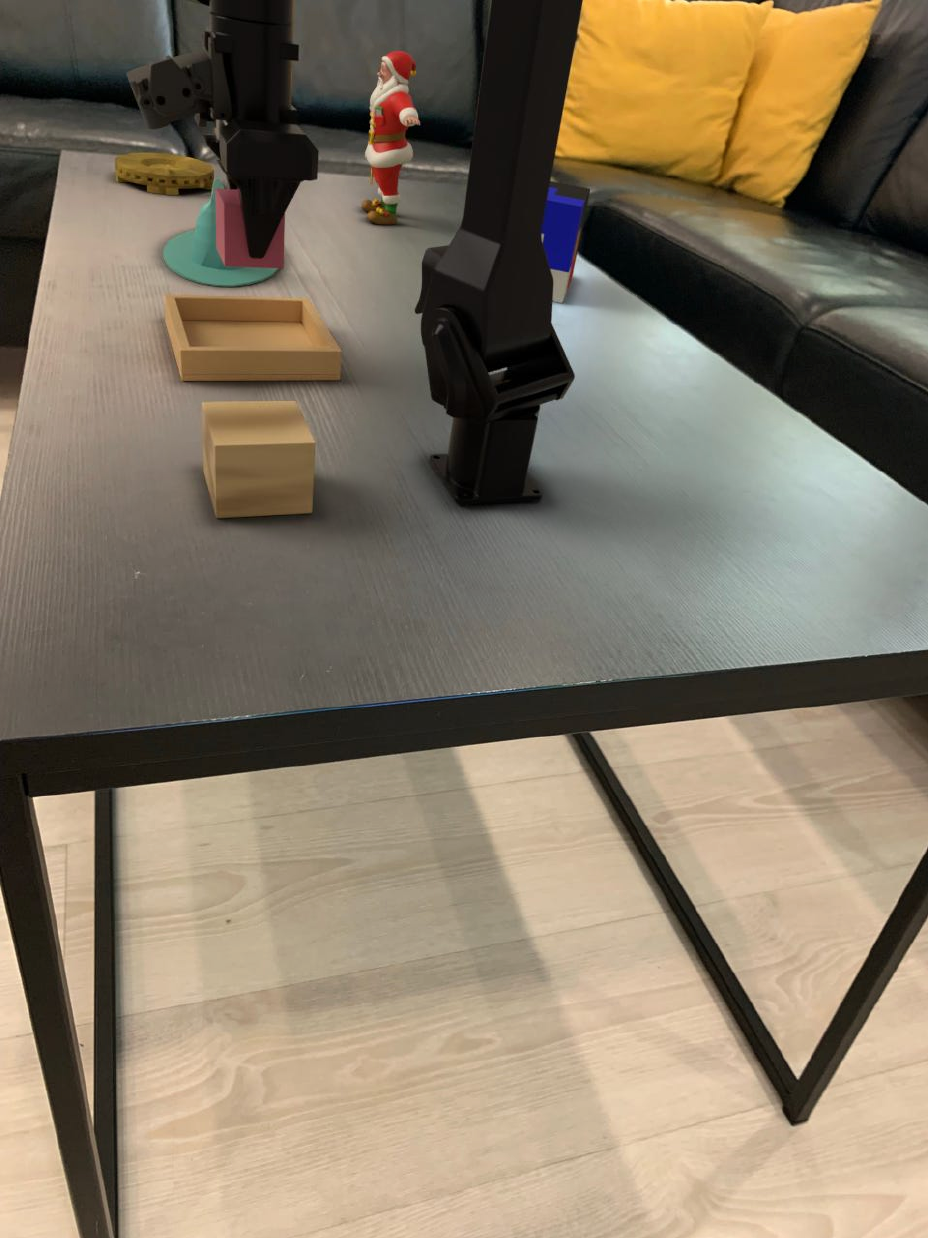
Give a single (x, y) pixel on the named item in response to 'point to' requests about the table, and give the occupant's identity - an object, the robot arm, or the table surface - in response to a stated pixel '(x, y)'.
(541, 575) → the table surface
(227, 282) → the teal cone with brim
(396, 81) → the santa figurine
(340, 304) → the table surface
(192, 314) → the tray
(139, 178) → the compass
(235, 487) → the base block
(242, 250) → the rose block
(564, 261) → the puzzle toy
